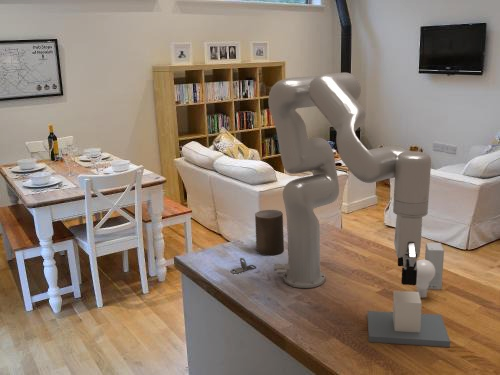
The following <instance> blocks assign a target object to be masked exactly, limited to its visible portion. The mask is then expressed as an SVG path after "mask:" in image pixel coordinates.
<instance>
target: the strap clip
mask: <svg viewBox="0 0 500 375" xmlns="http://www.w3.org/2000/svg"><path fill="white" fill-rule="evenodd" d="M239 263H240V266H239V267H235V268H232V269H231V270H230V273H231V274H232V275H234V274H237V275H239V273H240V274H243V273H244V272H245V271H246V272H248V271H253V270H255V269H257V266H256V265H254V264H250V265H247V262H246V259H245V258H244V257H240V259H239ZM234 271H235V272H234ZM242 272H243V273H242Z"/></svg>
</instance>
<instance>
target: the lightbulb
mask: <svg viewBox="0 0 500 375" xmlns="http://www.w3.org/2000/svg"><path fill="white" fill-rule="evenodd" d="M435 273H436V271H435V267H434V265H433V264H432V263H431V262H430V261H428V260H425V258H421V259H417V281H416V285H415V286H416V292H419V296H420V299H423V298H427V297H428V289H427V288H428V286H429V283H430V282H431V281H432V279H433V278H434V276H435Z"/></svg>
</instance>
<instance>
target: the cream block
mask: <svg viewBox="0 0 500 375" xmlns="http://www.w3.org/2000/svg"><path fill="white" fill-rule="evenodd" d="M392 300H393V301H392V302H393V304H392V312H393V323H394V330H395V331H402V332H418V333H420V327H421V314H422V298H421V297H420V296H419V292H417V291H409V290H408V291H406V290H405V291H404V290H402V291H401V290H393V298H392Z"/></svg>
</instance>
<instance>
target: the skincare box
mask: <svg viewBox="0 0 500 375" xmlns="http://www.w3.org/2000/svg"><path fill="white" fill-rule="evenodd" d="M444 256H445V250H444V247H443V245H442V243H441V242H428V241H427V242H425V253H424V259H425V260H428V261H430V262H431V263H432V264H433V265H434V267H435V271H436V273H435V276H434V278H433V279H432V281H431V282H430V283H429V286H428V288H427V290H442V287H443V275H444V274H443V273H444V272H443V271H444V259H445V258H444Z"/></svg>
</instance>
